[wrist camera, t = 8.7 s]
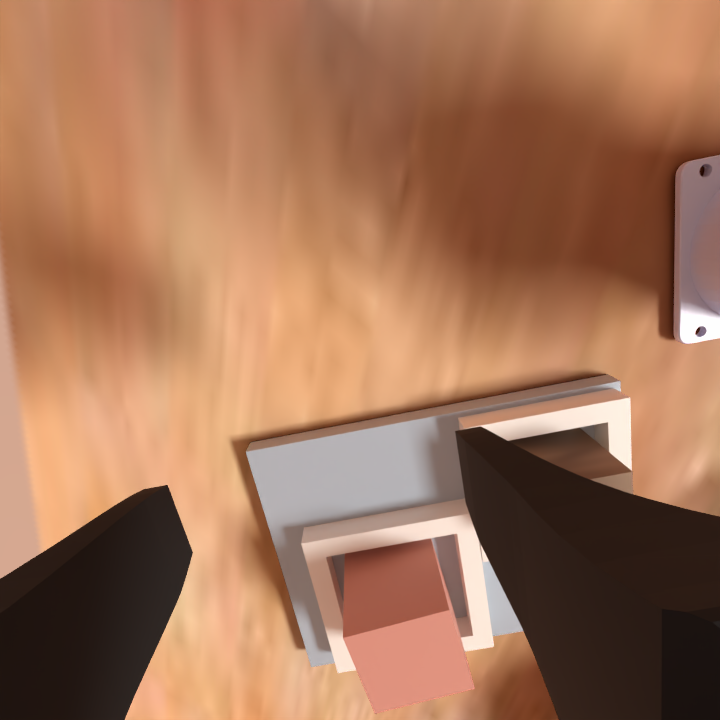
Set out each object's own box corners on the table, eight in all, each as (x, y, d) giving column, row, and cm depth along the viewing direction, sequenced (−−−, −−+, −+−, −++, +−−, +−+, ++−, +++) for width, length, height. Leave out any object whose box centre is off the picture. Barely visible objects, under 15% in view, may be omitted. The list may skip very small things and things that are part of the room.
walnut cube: (579, 427, 20) (632, 471, 17) (583, 498, 21) (634, 554, 18) (497, 442, 21) (530, 490, 17) (505, 512, 22) (538, 571, 18)
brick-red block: (427, 527, 22) (449, 610, 17) (449, 594, 23) (474, 688, 18) (344, 551, 22) (342, 638, 17) (370, 615, 23) (375, 713, 19)
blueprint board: (607, 374, 21) (636, 390, 19) (615, 598, 25) (640, 632, 22) (250, 442, 21) (239, 464, 19) (312, 650, 25) (309, 688, 23)
